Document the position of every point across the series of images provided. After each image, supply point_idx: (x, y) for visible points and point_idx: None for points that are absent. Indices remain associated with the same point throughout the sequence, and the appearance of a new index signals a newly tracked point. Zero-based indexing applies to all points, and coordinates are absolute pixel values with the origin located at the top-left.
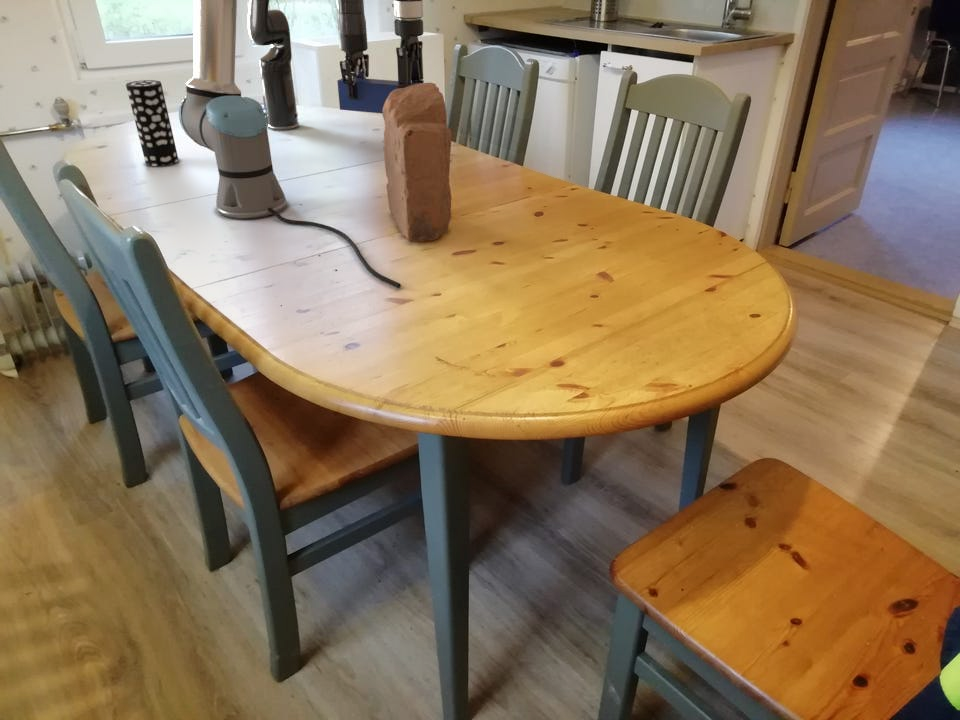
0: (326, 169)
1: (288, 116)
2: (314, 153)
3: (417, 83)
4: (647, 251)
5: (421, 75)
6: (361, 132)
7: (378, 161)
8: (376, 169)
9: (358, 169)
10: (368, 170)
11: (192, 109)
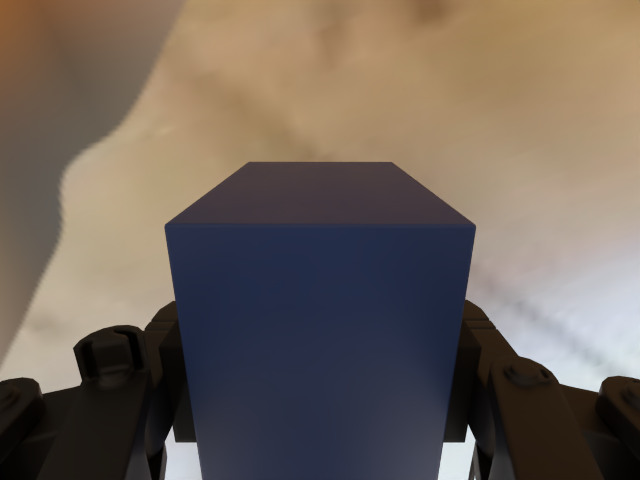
0: (598, 390)
1: None
2: None
3: (249, 367)
4: None
5: (4, 433)
6: None
7: (485, 279)
8: (586, 249)
9: (590, 305)
10: (600, 271)
11: None
